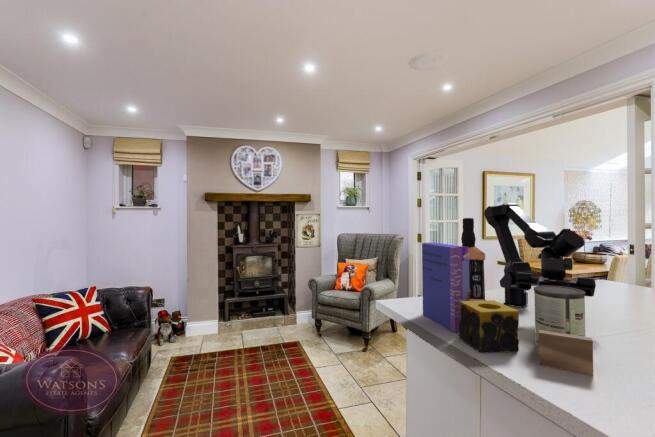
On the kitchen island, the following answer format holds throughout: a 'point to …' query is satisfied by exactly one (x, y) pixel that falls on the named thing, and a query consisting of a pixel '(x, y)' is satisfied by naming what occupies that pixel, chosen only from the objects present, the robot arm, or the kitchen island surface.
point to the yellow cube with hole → (489, 326)
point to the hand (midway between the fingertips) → (554, 309)
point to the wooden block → (566, 352)
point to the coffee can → (559, 310)
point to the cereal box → (444, 283)
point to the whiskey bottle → (474, 262)
